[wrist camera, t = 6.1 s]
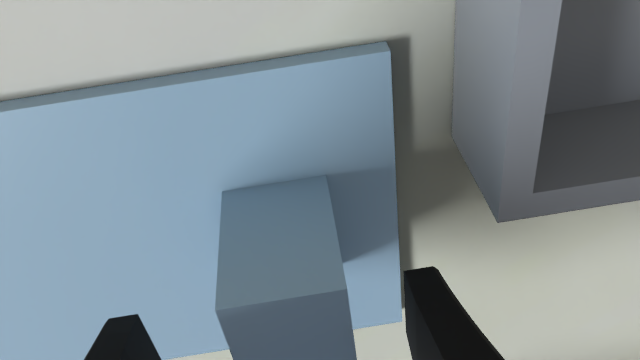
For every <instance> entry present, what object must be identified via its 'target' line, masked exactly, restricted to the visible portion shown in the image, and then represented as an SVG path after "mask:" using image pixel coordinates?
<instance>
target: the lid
mask: <svg viewBox="0 0 640 360" xmlns="http://www.w3.org/2000/svg"><path fill="white" fill-rule="evenodd" d="M134 314H138V315H139V317H140V319H141V321H142V323H143V325H144V327H145V329H146V331H147V333H148V334H149V336H150V338H151V340H152V342H153V344H154V346H155V348H156V350H157V352H158V354H159V356H160V358H161V360H166V359H172V358H178V357H184V356H191V355H197V354H203V353H209V352H215V351H222V350H228V349H230V352H231V355H232V357H233V360H357V358H356V350H355V343H354V335H353V329H358V328H364V327H371V326H377V325H383V324H389V323H395V322H402V306H401V283H400V260H399V237H398V214H397V190H396V167H395V144H394V121H393V97H392V74H391V51H390V49H389V47H388V45H387V42H386V41H384V42H377V43H371V44H364V45H358V46H352V47H345V48H339V49H333V50H326V51H320V52H313V53H307V54H301V55H294V56H288V57H281V58H275V59H269V60H262V61H256V62H250V63H243V64H237V65H230V66H224V67H218V68H211V69H205V70H198V71H192V72H186V73H179V74H173V75H167V76H160V77H154V78H147V79H141V80H135V81H128V82H122V83H115V84H109V85H103V86H96V87H90V88H84V89H77V90H71V91H64V92H58V93H52V94H45V95H39V96H32V97H26V98H20V99H13V100H7V101H1V102H0V360H84V358H85V357H86V355H87V353H88V352H89V350H90V348H91V346H92V345H93V343H94V341H95V340H96V338H97V336H98V334H99V333H100V331H101V329H102V328H103V326H104V324H105V323H106V321H107V320H108V319H109V318H115V317H121V316H127V315H134Z"/></svg>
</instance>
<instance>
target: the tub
mask: <svg viewBox="0 0 640 360" xmlns="http://www.w3.org/2000/svg"><path fill="white" fill-rule="evenodd" d="M451 136H452V138H453V140H454V142H455V144H456V146H457V148H458V149H459V151H460V153H461V155H462V157H463V159H464V161H465V163H466V164H467V166H468V168H469V170H470V172H471V174H472V176H473V178H474V180H475V181H476V183H477V185H478V187H479V189H480V191H481V193H482V195H483V196H484V198H485V200H486V202H487V204H488V206H489V208H490V210H491V211H492V213H493V215H494V217H495V219H496V221H497V223H500V222H506V221H512V220H518V219H525V218H531V217H537V216H543V215H550V214H556V213H562V212H568V211H575V210H581V209H587V208H593V207H599V206H606V205H612V204H618V203H624V202H631V201H637V200H640V0H456V9H455V41H454V72H453V104H452V135H451Z"/></svg>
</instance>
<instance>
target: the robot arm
mask: <svg viewBox="0 0 640 360" xmlns="http://www.w3.org/2000/svg"><path fill="white" fill-rule="evenodd" d="M404 291H405V316H406V333H407V338H408V342H409V346H410V351H411V355H412V359H413V360H505V359H504V358H503V357H502V356H501V355H500V353H499V352H498V351H497V350H496V349H495V347H494V346H493V345H492V344H491V342H490V341H489V340H488V339H487V338H486V336H485V335H484V334H483V333H482V332H481V330H480V329H479V328H478V326H477V325H476V324H475V323H474V321H473V320H472V319H471V317H470V316H469V315H468V313H467V312H466V310H465V309H464V308H463V306H462V305H461V304H460V302H459V301H458V299H457V298H456V297H455V295H454V294H453V292H452V291H451V289H450V288H449V286H448V285H447V283H446V282H445V280H444V279H443V277H442V275H441V274H440V272H439V270H438V269H436V268H435V267H433V266H432V267H426V268H420V269H413V270H407V271H404ZM84 360H161V358H160V356H159V354H158V352H157V350H156V348H155V346H154V344H153V342H152V340H151V338H150V336H149V334H148V333H147V331H146V329H145V327H144V325H143V323H142V321H141V319H140V317H139V315H138V314H134V315H127V316H121V317H115V318H109V319H108V320H107V321H106V323H105V324H104V326H103V328H102V329H101V331H100V333H99V334H98V336H97V338H96V340H95V341H94V343H93V345H92V346H91V348H90V350H89V352H88V353H87V355H86V357H85V358H84Z"/></svg>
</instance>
